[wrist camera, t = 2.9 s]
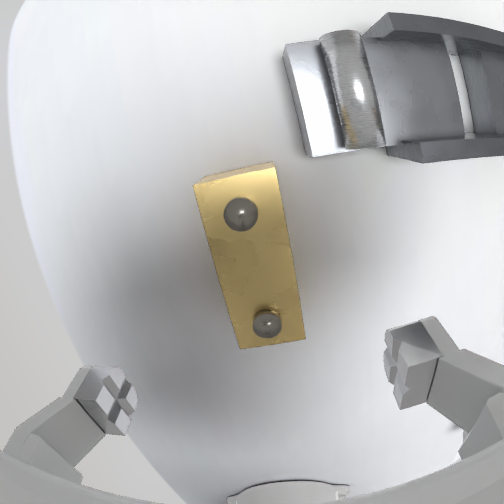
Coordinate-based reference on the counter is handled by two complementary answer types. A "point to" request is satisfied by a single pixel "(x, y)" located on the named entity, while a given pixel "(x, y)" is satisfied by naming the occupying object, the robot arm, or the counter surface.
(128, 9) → the counter surface
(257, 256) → the gold block with knob
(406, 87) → the linear slide rail
